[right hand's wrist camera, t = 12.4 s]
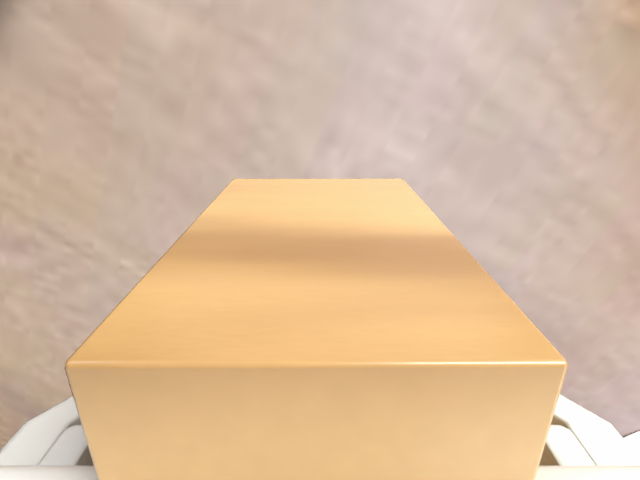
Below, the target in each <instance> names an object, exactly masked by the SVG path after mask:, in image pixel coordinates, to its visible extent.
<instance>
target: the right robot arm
mask: <svg viewBox="0 0 640 480" xmlns="http://www.w3.org/2000/svg"><path fill="white" fill-rule="evenodd" d="M0 480H98V478H97V474H96V471H95V468H94V464H93V461H92V458H91V454H90V451H89V448H88V444H87V441H86V438H85V434H84V431H83V428H82V425H81V421H80V418H79V415H78V411H77V408H76V405H75V401H74V398H73V396H72V397H70V398H68V399H67V400H65V401H63V402H61V403H59V404H58V405H56V406H54V407H52V408H51V409H49V410H47V411H45V412H44V413H42V414H40V415H38V416H36V417H35V418H33V419H31V420H29V421H28V422H26V423H24V425H23V426H22V427H21V428H20V429H19V430H18V431H17V433H16V434H15V435H14V436H13V437H12V438H11V439H10V441H9V442H8V443H7V444H6V445H5V446H4V447H3V448H2V450H1V451H0ZM535 480H640V431H638V432H635V433H633V434H630V435H628V436H626V437H622V436H621V435H620V434H619V433H618V432H617V430H616V429H615V428H614V427H613V426H612V425H611V424H610V423H609V422H607V421H605V420H603V419H602V418H600V417H598V416H596V415H595V414H593V413H591V412H589V411H588V410H586V409H584V408H582V407H581V406H579V405H577V404H575V403H574V402H572V401H570V400H569V399H567V398H565V397H563V396H562V395H559V398H558V402H557V405H556V409H555V412H554V415H553V419H552V422H551V426H550V429H549V433H548V436H547V440H546V443H545V446H544V450H543V453H542V457H541V460H540V464H539V467H538V470H537V474H536V477H535Z"/></svg>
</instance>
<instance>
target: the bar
mask: <svg viewBox="0 0 640 480" xmlns="http://www.w3.org/2000/svg"><path fill="white" fill-rule="evenodd" d="M65 371H66V375H67V378H68V381H69V385H70V388H71V391H72V395H73V398H74V401H75V405H76V408H77V411H78V415H79V418H80V421H81V425H82V428H83V431H84V434H85V438H86V441H87V444H88V448H89V451H90V454H91V458H92V461H93V464H94V468H95V471H96V474H97V478H98V480H535V477H536V474H537V470H538V467H539V464H540V460H541V457H542V453H543V450H544V446H545V443H546V440H547V436H548V433H549V429H550V426H551V422H552V419H553V415H554V412H555V409H556V405H557V402H558V398H559V395H560V391H561V388H562V384H563V381H564V378H565V374H566V371H567V362H566V360H565V359H564V358H563V356H562V355H561V354H560V353H559V352H558V351H557V350H556V349H555V348H554V346H553V345H552V344H551V343H550V342H549V341H548V340H547V339H546V338H545V336H544V335H543V334H542V333H541V332H540V331H539V330H538V329H537V328H536V326H535V325H534V324H533V323H532V322H531V321H530V320H529V319H528V318H527V316H526V315H525V314H524V313H523V312H522V311H521V310H520V309H519V308H518V306H517V305H516V304H515V303H514V302H513V301H512V300H511V299H510V298H509V296H508V295H507V294H506V293H505V292H504V291H503V290H502V289H501V288H500V286H499V285H498V284H497V283H496V282H495V281H494V280H493V279H492V278H491V276H490V275H489V274H488V273H487V272H486V271H485V270H484V269H483V268H482V266H481V265H480V264H479V263H478V262H477V261H476V260H475V259H474V258H473V256H472V255H471V254H470V253H469V252H468V251H467V250H466V249H465V248H464V246H463V245H462V244H461V243H460V242H459V241H458V240H457V239H456V238H455V236H454V235H453V234H452V233H451V232H450V231H449V230H448V229H447V228H446V226H445V225H444V224H443V223H442V222H441V221H440V220H439V219H438V218H437V216H436V215H435V214H434V213H433V212H432V211H431V210H430V209H429V208H428V206H427V205H426V204H425V203H424V202H423V201H422V200H421V199H420V198H419V196H418V195H417V194H416V193H415V192H414V191H413V190H412V189H411V188H410V186H409V185H408V184H407V183H406V182H405V181H404V180H403V179H233V180H232V181H231V182H230V183H229V184H228V185H227V186H226V188H225V189H224V190H223V191H222V192H221V193H220V194H219V195H218V196H217V197H216V198H215V200H214V201H213V202H212V203H211V204H210V205H209V206H208V207H207V208H206V209H205V210H204V212H203V213H202V214H201V215H200V216H199V217H198V218H197V219H196V220H195V221H194V222H193V224H192V225H191V226H190V227H189V228H188V229H187V230H186V231H185V232H184V233H183V234H182V236H181V237H180V238H179V239H178V240H177V241H176V242H175V243H174V244H173V245H172V246H171V248H170V249H169V250H168V251H167V252H166V253H165V254H164V255H163V256H162V257H161V258H160V260H159V261H158V262H157V263H156V264H155V265H154V266H153V267H152V268H151V269H150V270H149V272H148V273H147V274H146V275H145V276H144V277H143V278H142V279H141V280H140V281H139V282H138V283H137V285H136V286H135V287H134V288H133V289H132V290H131V291H130V292H129V293H128V294H127V295H126V297H125V298H124V299H123V300H122V301H121V302H120V303H119V304H118V305H117V306H116V307H115V309H114V310H113V311H112V312H111V313H110V314H109V315H108V316H107V317H106V318H105V319H104V321H103V322H102V323H101V324H100V325H99V326H98V327H97V328H96V329H95V330H94V331H93V333H92V334H91V335H90V336H89V337H88V338H87V339H86V340H85V341H84V342H83V343H82V345H81V346H80V347H79V348H78V349H77V350H76V351H75V352H74V353H73V354H72V355H71V357H70V358H69V359H68V360H67V361H66V363H65Z"/></svg>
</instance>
